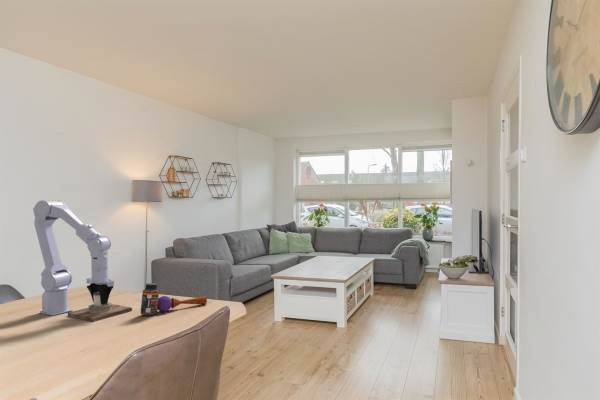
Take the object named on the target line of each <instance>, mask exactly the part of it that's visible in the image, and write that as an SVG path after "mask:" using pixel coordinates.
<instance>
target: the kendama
mask: <svg viewBox="0 0 600 400" xmlns="http://www.w3.org/2000/svg"><path fill="white" fill-rule="evenodd" d="M207 298H208V297H207V295H204V296H200V297H199V296H198V297H195V298H194V297H193V298H188V299H183V300H180V299H178V298H174V297H171V298H170V297H169V296H168V295H162V296H160V297H159V298H158V308H157V311H159V312H162V313H165V312H168V311H169V310H170V309H175V308H176V307H178V306H180V305H183V304H184V305H207V302H208V299H207Z"/></svg>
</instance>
